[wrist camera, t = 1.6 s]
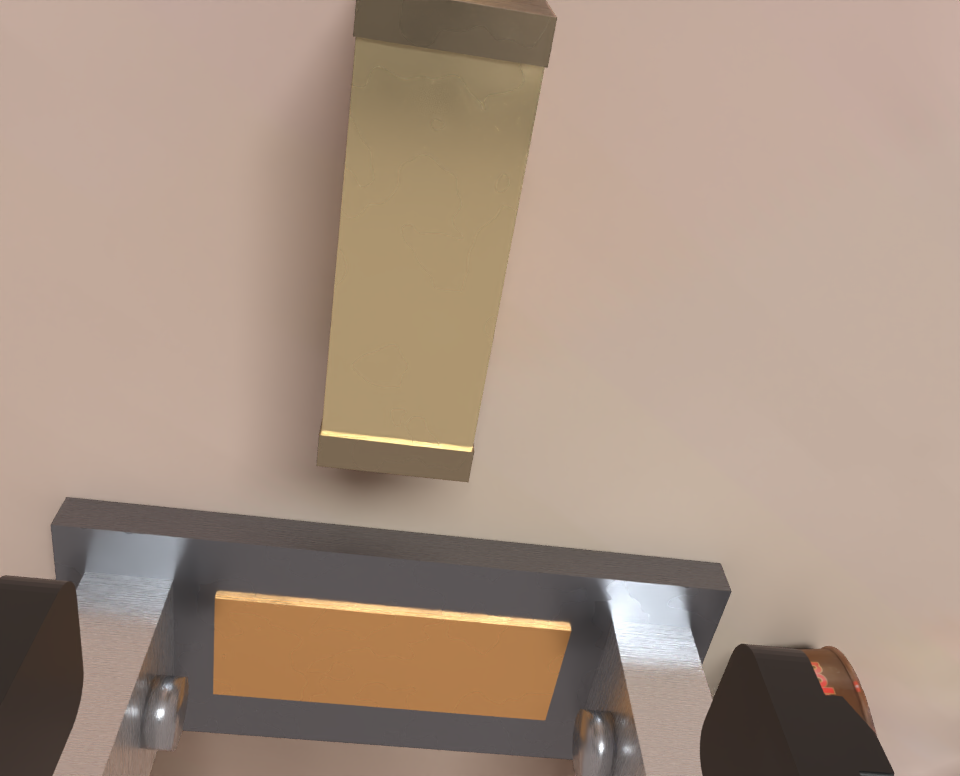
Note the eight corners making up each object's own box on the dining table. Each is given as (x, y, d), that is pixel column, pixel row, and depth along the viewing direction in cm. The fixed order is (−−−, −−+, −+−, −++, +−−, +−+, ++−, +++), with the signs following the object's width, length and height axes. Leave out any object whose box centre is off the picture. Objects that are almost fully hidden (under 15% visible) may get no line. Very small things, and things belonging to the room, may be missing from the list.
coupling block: (463, 370, 30) (468, 482, 25) (338, 355, 30) (316, 465, 24) (532, -22, 24) (556, 17, 19) (376, -49, 24) (357, -16, 18)
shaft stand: (70, 690, 37) (-34, 929, 29) (51, 495, 32) (-81, 719, 24) (665, 737, 40) (721, 967, 32) (733, 564, 35) (821, 785, 27)
